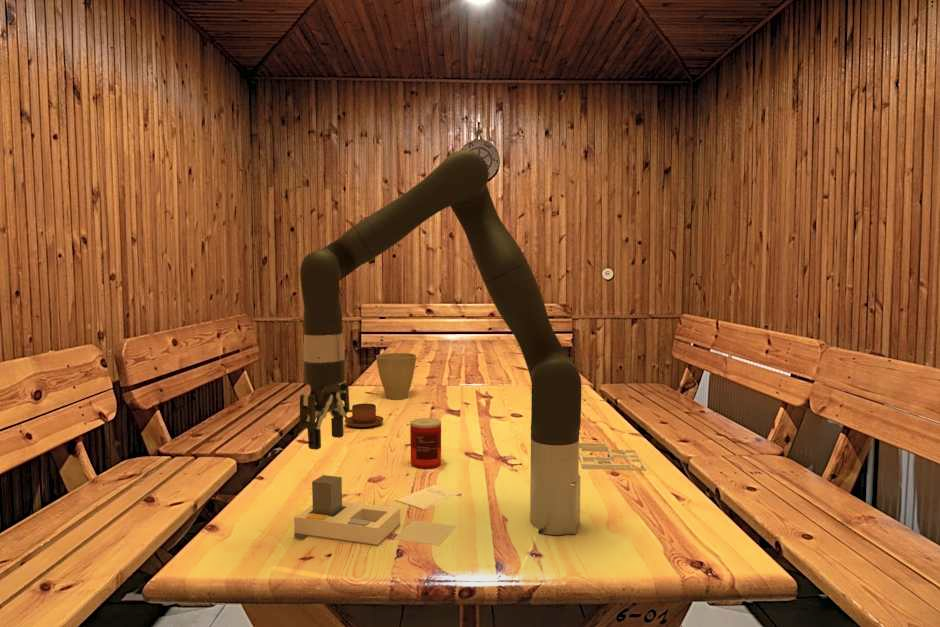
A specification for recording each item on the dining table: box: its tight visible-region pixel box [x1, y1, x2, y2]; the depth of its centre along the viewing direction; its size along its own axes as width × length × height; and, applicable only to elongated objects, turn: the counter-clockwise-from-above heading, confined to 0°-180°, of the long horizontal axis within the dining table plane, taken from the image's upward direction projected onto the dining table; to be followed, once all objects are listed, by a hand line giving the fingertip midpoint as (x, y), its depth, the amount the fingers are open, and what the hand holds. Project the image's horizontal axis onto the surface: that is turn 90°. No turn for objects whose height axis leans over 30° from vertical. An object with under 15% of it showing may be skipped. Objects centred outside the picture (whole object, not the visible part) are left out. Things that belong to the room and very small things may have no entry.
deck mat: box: [393, 520, 457, 546], centre depth 124 cm, size 9×9×1 cm
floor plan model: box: [579, 442, 647, 472], centre depth 173 cm, size 19×25×2 cm
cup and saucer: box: [344, 402, 384, 428], centre depth 208 cm, size 12×12×6 cm
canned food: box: [409, 417, 442, 470], centre depth 168 cm, size 8×8×11 cm
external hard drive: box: [394, 484, 463, 510], centre depth 143 cm, size 2×8×12 cm
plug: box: [311, 474, 343, 517], centre depth 127 cm, size 4×4×9 cm
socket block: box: [293, 500, 401, 547], centre depth 126 cm, size 17×10×4 cm, turn 72°
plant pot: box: [375, 352, 417, 401], centre depth 248 cm, size 15×15×16 cm
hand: (326, 442), depth 126 cm, fingers open, 8 cm apart
